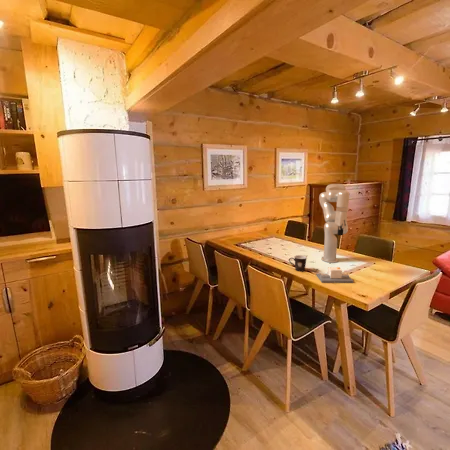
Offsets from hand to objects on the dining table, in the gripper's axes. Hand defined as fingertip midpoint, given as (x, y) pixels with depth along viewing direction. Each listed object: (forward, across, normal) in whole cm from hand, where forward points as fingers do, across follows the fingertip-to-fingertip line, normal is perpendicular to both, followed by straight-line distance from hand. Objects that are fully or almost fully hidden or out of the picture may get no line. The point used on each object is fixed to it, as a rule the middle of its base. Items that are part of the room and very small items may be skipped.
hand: (340, 235), depth 192 cm
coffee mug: (+27, -1, -28) cm, 39 cm away
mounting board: (+26, +16, -8) cm, 32 cm away
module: (+24, +16, -8) cm, 30 cm away
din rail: (+25, +16, -8) cm, 31 cm away
